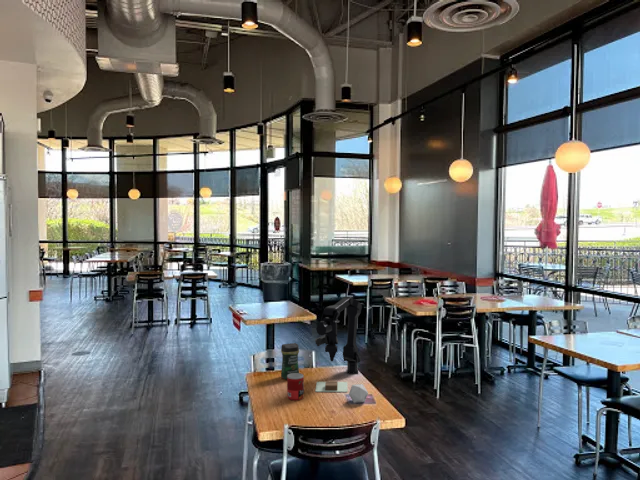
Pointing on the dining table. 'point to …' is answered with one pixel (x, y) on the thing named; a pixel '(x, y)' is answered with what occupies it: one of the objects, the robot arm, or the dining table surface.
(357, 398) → the die
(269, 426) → the dining table surface
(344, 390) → the mat
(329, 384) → the walnut slab
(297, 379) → the canned food
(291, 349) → the coffee jar
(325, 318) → the robot arm
